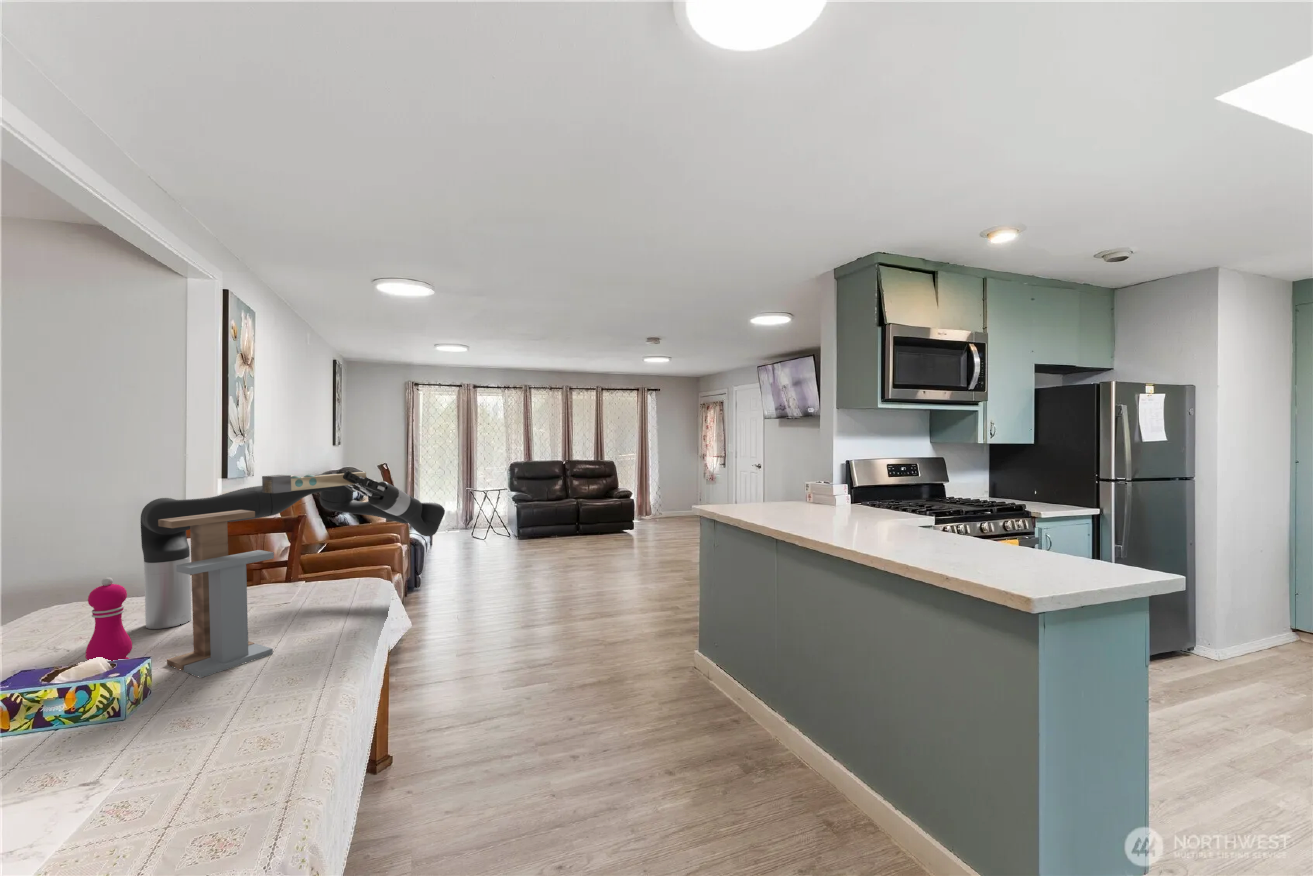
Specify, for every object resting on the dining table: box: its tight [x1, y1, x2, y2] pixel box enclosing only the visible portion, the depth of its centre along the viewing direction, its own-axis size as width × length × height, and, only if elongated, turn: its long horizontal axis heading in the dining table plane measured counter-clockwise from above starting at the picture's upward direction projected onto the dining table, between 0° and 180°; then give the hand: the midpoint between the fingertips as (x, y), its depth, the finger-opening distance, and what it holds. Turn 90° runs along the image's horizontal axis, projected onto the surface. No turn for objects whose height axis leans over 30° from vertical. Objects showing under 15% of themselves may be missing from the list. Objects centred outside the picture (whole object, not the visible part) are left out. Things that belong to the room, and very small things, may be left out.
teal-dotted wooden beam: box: [261, 471, 367, 493], centre depth 149 cm, size 5×25×4 cm, turn 152°
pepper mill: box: [85, 577, 133, 661], centre depth 121 cm, size 7×7×20 cm
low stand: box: [176, 549, 275, 679], centre depth 125 cm, size 7×16×23 cm, turn 152°
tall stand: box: [158, 510, 255, 671], centre depth 128 cm, size 7×16×32 cm, turn 152°
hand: (340, 474), depth 154 cm, fingers closed on teal-dotted wooden beam, 3 cm apart
